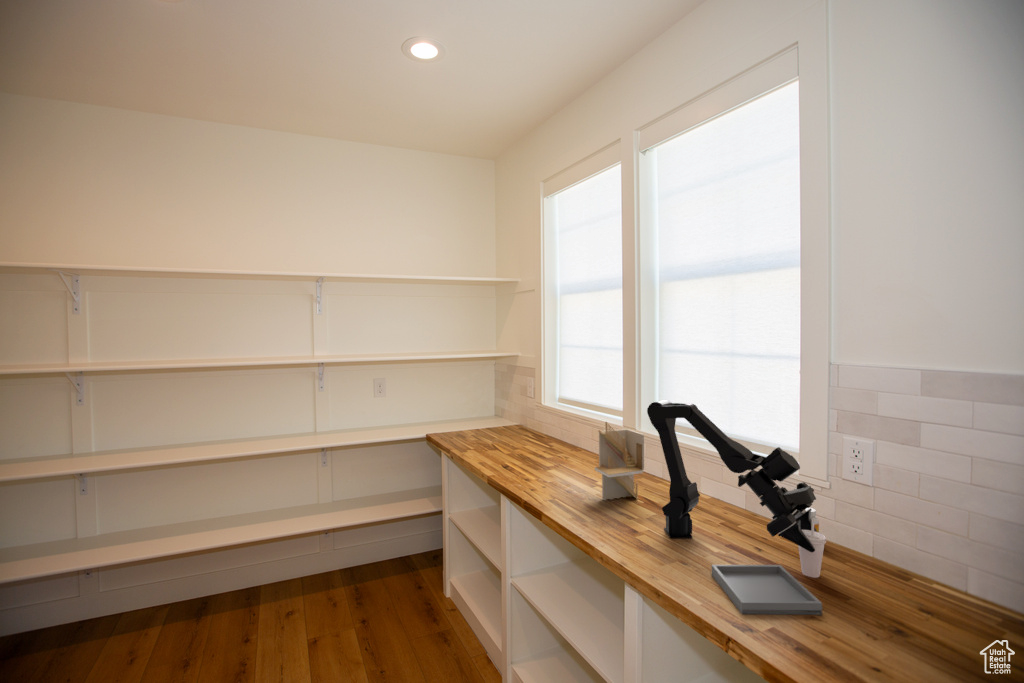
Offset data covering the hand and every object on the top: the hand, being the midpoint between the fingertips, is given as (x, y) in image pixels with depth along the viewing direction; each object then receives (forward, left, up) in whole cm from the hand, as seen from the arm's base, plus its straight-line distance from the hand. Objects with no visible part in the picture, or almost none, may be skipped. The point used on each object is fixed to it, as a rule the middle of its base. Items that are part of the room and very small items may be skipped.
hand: (817, 546), depth 117 cm
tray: (-17, -8, -7) cm, 20 cm away
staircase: (-36, +51, -8) cm, 63 cm away
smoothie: (-1, +1, -7) cm, 7 cm away
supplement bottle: (+8, +18, -7) cm, 21 cm away
